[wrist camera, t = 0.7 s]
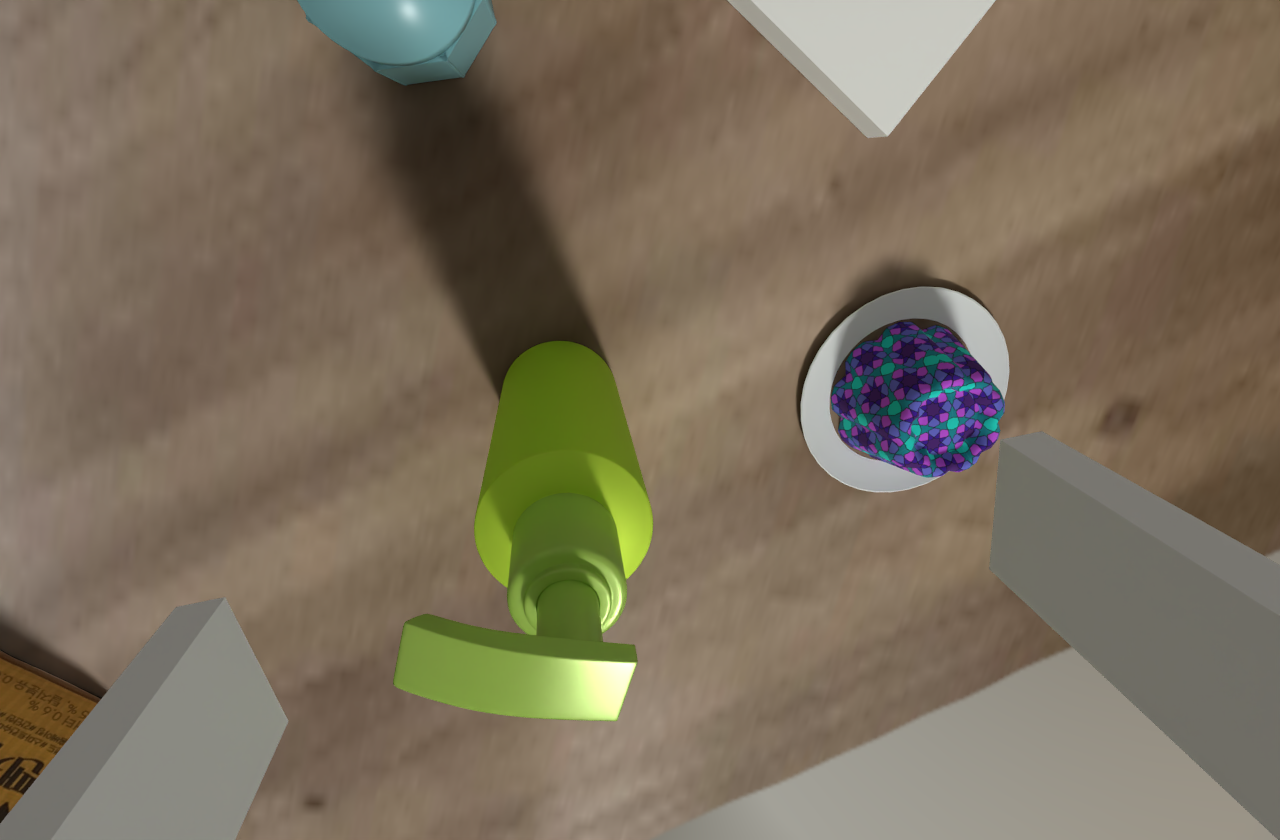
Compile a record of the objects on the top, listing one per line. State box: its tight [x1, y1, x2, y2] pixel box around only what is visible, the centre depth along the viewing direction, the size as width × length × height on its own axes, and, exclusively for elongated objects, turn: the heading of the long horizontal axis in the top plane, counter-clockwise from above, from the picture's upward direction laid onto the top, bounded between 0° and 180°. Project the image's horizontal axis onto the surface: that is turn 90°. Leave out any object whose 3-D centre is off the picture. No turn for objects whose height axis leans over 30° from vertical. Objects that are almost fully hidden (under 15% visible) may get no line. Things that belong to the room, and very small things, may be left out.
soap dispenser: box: [393, 341, 653, 721], centre depth 24 cm, size 6×7×20 cm
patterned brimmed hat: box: [801, 286, 1009, 492], centre depth 34 cm, size 12×12×5 cm
